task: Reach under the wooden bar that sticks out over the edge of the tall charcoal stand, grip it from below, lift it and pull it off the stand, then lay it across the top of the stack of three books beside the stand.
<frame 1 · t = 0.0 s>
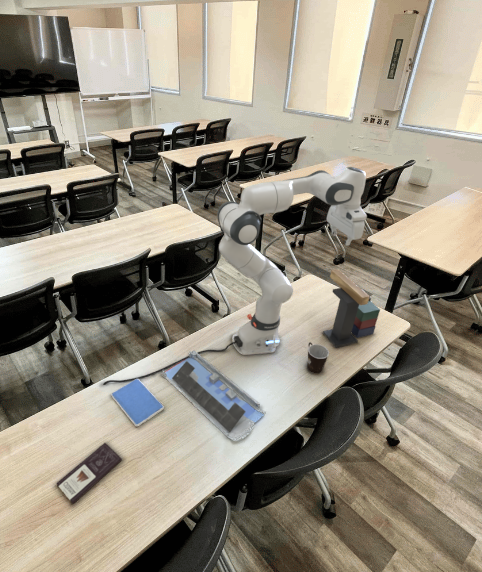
hand: (340, 239, 152), 48 cm above the table, tool pointing down, fingers open, 8 cm apart
book stack: (355, 326, 179), on the table
coffee mug: (314, 365, 157), on the table
blue parts tray: (212, 394, 143), on the table
chocolate bar: (90, 472, 116), on the table
stand: (339, 338, 172), on the table
wooden bar: (347, 290, 160), point 26 cm above the table, touching stand
tablet: (137, 402, 139), on the table
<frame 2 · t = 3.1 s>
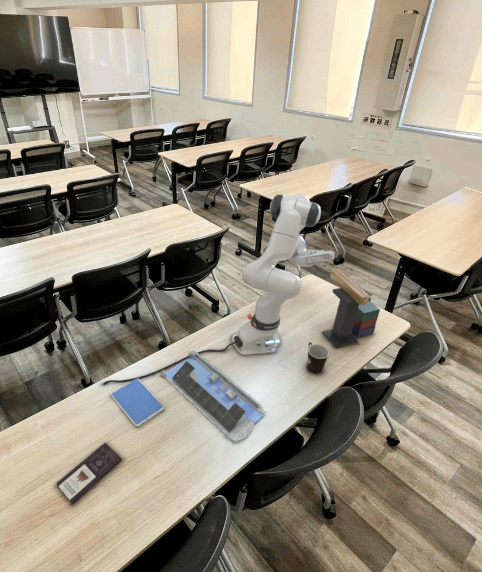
hand: (323, 257, 174), 31 cm above the table, tool pointing upward, fingers open, 8 cm apart
nothing on the table moved.
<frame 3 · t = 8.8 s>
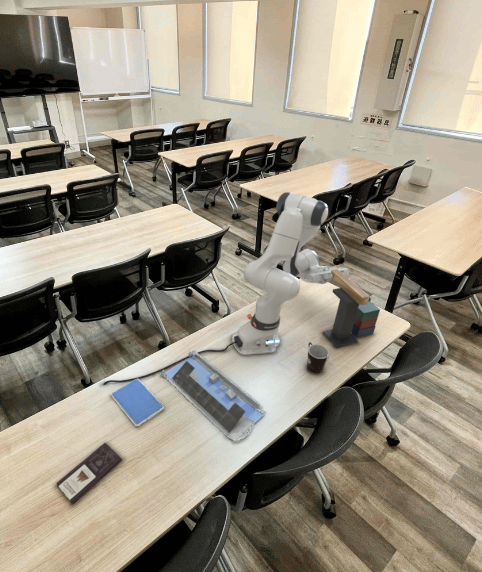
hand: (337, 275, 165), 28 cm above the table, tool pointing upward, fingers closed on wooden bar, 3 cm apart
wooden bar: (347, 290, 160), point 26 cm above the table, touching gripper, stand
everything else where it was.
when the fingers open (17 cm above the table, at t = 19.0 s): wooden bar stays where it is, resting on book stack.
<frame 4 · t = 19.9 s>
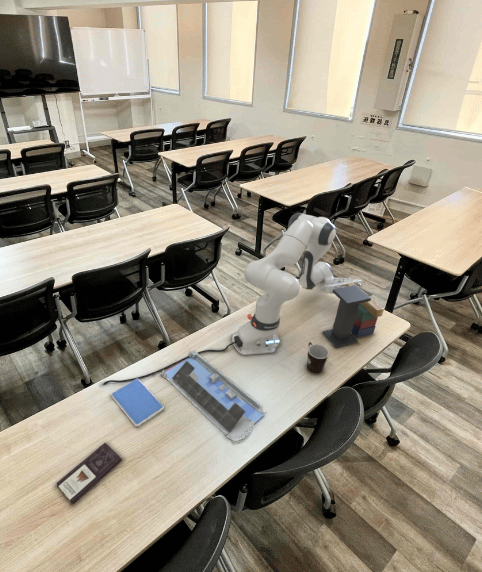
hand: (352, 287, 176), 18 cm above the table, tool pointing upward, fingers open, 8 cm apart
wooden bar: (362, 302, 171), point 15 cm above the table, touching book stack
everything else where it was.
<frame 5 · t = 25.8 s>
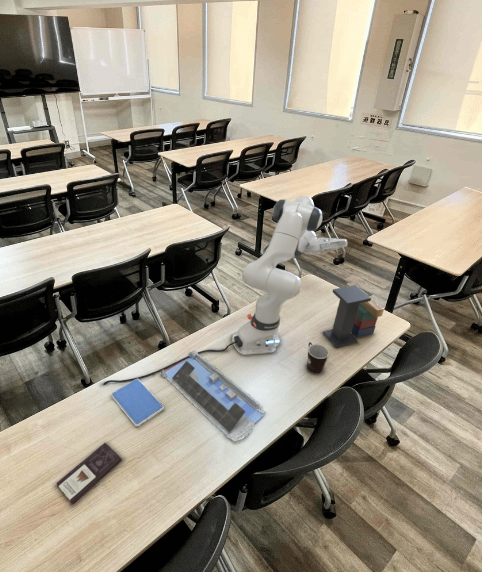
hand: (337, 244, 178), 34 cm above the table, tool pointing upward, fingers open, 8 cm apart
nothing on the table moved.
at the end: wooden bar inside the target area on the book stack (0.0 cm from its centre), point 15.0 cm above the book stack's base; wooden bar touching book stack; the gripper is holding nothing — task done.
